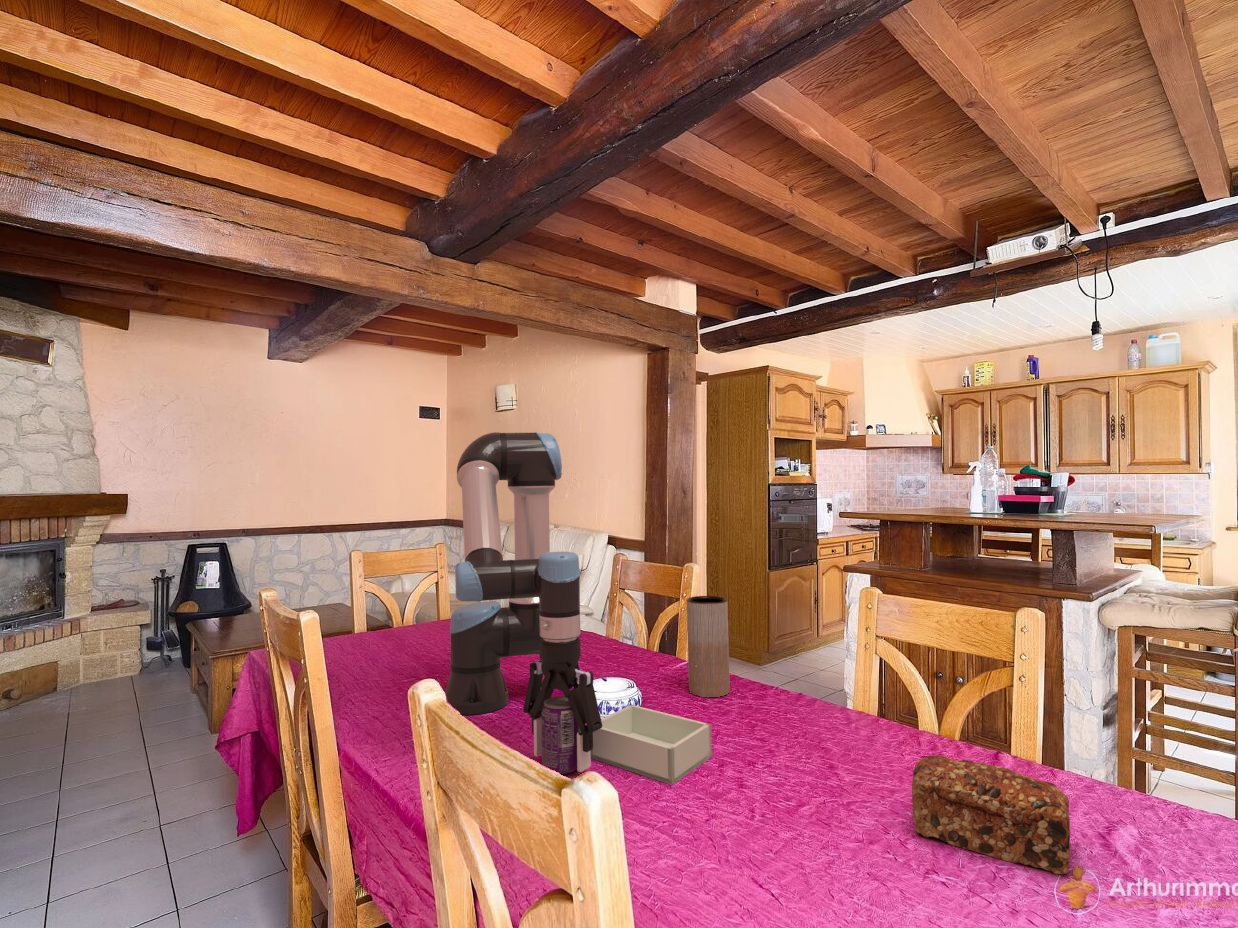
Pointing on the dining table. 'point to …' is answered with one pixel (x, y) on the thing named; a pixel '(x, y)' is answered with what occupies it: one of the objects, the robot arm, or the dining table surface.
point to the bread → (992, 812)
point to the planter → (708, 646)
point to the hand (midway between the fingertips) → (561, 760)
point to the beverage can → (559, 735)
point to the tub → (652, 743)
